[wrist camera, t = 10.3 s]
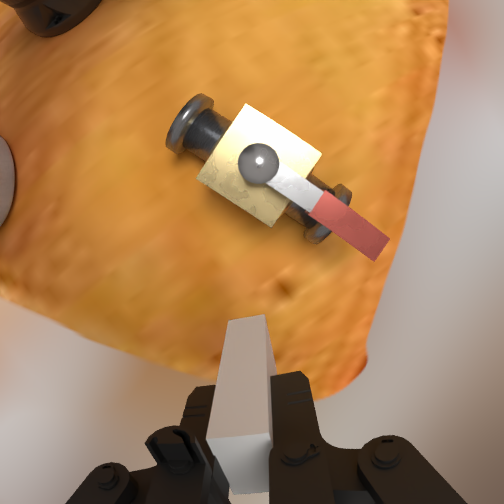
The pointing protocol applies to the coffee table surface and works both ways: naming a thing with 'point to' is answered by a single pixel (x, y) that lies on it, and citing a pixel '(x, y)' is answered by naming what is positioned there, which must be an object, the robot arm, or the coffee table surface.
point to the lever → (311, 199)
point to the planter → (6, 180)
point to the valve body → (227, 153)
